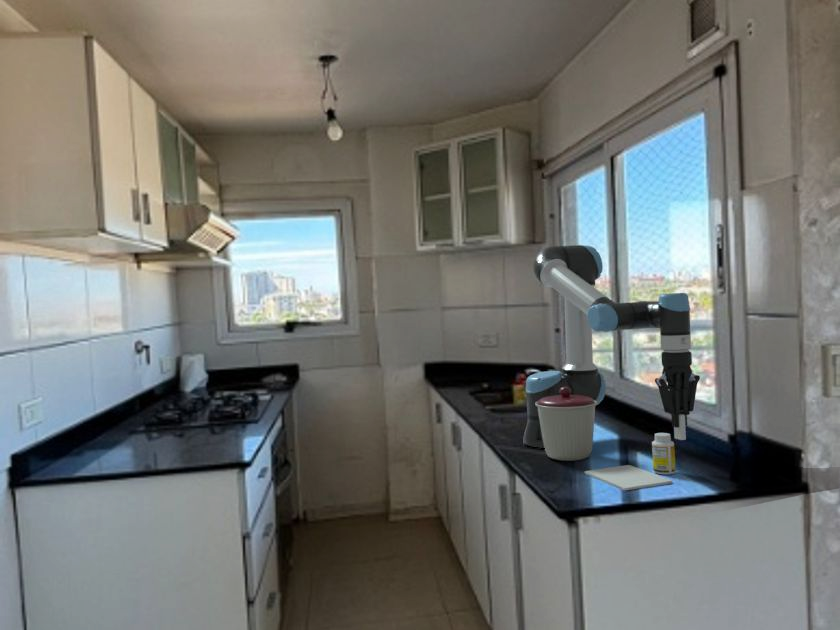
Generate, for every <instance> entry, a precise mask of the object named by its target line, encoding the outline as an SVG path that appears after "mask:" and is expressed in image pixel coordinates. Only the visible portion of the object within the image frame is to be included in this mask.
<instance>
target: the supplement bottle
mask: <svg viewBox="0 0 840 630" xmlns="http://www.w3.org/2000/svg"><path fill="white" fill-rule="evenodd" d="M651 450H652V452H651V453H652V468H653V469H652V470H653V472H654V474H656V475H657V474H658V475H663V476H664V475H666V476H670V475H673V474H675V473H676V468H677V467H676V455H675V454H676V452H675V443H674V441H673V440H672V437H671V434H670V433H668V432H657V433H654V440H653V441H651Z"/></svg>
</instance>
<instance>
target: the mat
mask: <svg viewBox="0 0 840 630" xmlns="http://www.w3.org/2000/svg"><path fill="white" fill-rule="evenodd" d="M584 474H585V475H587V476H590V477H592V478H594V479H597V480H598V481H600V482H604V483H606V484H608V485H610V486H612V487H615V488H617V489H620V490H622V491H623V492H624V491H630V490H631V491H632V490H638V489H644V488H651V487H656V486H663V485H668V484H669V485H670V484H674V481H673V480H671V479H669V478H667V477H663V476H661V475H659V474H658V475H657V473H652V472H650V471H647V470H644V469H642V468H638V467H637V466H636V467H635V466H633V465H630V464H625V465H619V466H612V467H606V468H598V469H592V470H586V471H585V470H584Z"/></svg>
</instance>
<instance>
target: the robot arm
mask: <svg viewBox="0 0 840 630" xmlns="http://www.w3.org/2000/svg"><path fill="white" fill-rule="evenodd" d="M532 267H533V273H534V275H535V277H536V279H537V280H538V281H539V282H540V283H541V284H542V285H544V286H545V287H547V288H553V290H555V291H556V292H557V293H559V295H561V297H564V322H565V323H564V324H565V325H564V326H565V354H566V355H565V360H566V361H565V362H566V363H564V365H563V366H562V367H561V371H559V370H547V371H540V372H536V373H533V374H531V375H529V376H528V377H527V378H526V379H525V380H526V381H525V393H526V410H527V423H526V427H525V430H524V433H523V434H524V435H523V437H522V438H523V441H522V442H523V444H524V443H525V444H527V445H530V446H533V447H539V448H538V449H541V448H544V443H543V438H542V432H541V426H540V420H539V413H538V407H537V406H536V405H535V403H536V402H537V401H539V400H540V399H541V398H544V397H548V396H554V395H560V393H559V390H560V388H562V387H569V388H570V389H571V395H582V396H587V397H590V398H592V399H593V400H595V401H597V405H599V404H601V402H602V401H603V400H604V398H605V395H606V389H607V384H606V380H605V379H604V378H605V377H604V375H603V374H602V373H601V372H600V371H598V366H597V364H595V363H594V359H593V358H594V357H593V356H594V355H593V331H594V332H604V333H610V332H616V331H624V330H625V331H627V330H628V331H629V330H640V329H659V330H660V350H662V352H661V355H660V356H661V365H662V367H663V368H662V372H661V373H662V374H661V375H660V377H656V378H654V383H655V384H656V386H657V388H658V391H659V394H660V395H659V397H660V398H661V399H660V400H661V403H662V406H663V411H664V413H667V414H669V415H670V416H671V427H673V434H674V439H675V440H679V441H685V440H687V435H686V434H687V432H686V429H687V428H686V427H687V426H688V416H689V415H690V414H691V412H693V411H694V408H695V401H696V396H697V395H696V394H697V387H698V384H699V381H700V379H701V376H700V375H698V374H695V373H693V370H692V368H691V367H692V366H691V365H692V364H693V358H692V357H693V355H692V352H691V351H690V350H691V349H692V339H691V337H692V335H691V314H690V313H691V312H690V310H691V307H690V300H689V299H690V298H689V295H688V294H687V293H686V292H675V293H674V292H673V293H660V294H659V295H658V301H655V300H654V301H651V300H650V301H647V300H641V301H633V302H630V301H629V302H615V301H614V300H612V299H611V298H609V297H608V296H606V295H605V294H604V293H602V292H601V291H599V290H598V289H597V288H596V280H598V279H599V278H600V277H601V276H602V275H601V274H602V272H603V259H602V257H601V255H600V252H598V251H597V249H596V248H595V247H594V246H591V245H585V244H584V245H582V244H578V245H552V246H547V247H545V248H543V249H541V250H540V251H539V252H538V253H537V255H536V256H535V258H534V260H533V265H532ZM597 405H596V406H597Z"/></svg>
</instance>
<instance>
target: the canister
mask: <svg viewBox="0 0 840 630" xmlns="http://www.w3.org/2000/svg"><path fill="white" fill-rule="evenodd" d="M559 393H560V395H554V396H548V397H544V398H541V399H540V400H539V401H537V402H536V403H535V405H536V406H537V407H538V413H539V420H540V426H541V432H542V438H543V443H544V448H545V449H544V451H545V453H546V455H547V457H549V458H550V459H553V460H557V461H562V462H563V461H565V462H573V461H574V462H575V461H580V460H581V461H582V460H585V459H587V458H589V456H591V453H592V451H593V443H594V432H595V430H594V429H595V415H596V406H597V401H595V400H593V399H592V398H590V397H587V396H582V395H571V389H570V388H569V387H562V388H560V390H559Z"/></svg>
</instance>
